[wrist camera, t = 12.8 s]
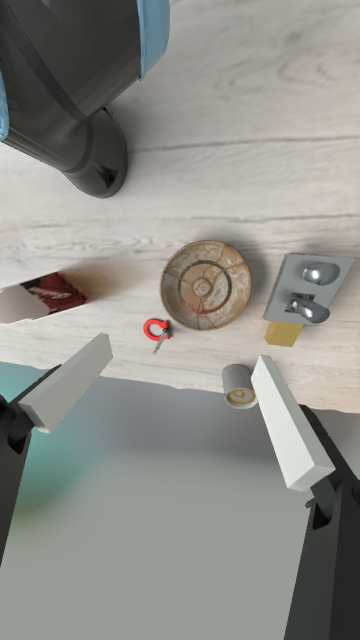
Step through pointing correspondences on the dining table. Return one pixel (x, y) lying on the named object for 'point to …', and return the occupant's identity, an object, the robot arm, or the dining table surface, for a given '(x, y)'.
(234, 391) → the coffee mug
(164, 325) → the tow hook
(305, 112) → the dining table surface
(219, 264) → the ceramic bowl
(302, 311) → the pin
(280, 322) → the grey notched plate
